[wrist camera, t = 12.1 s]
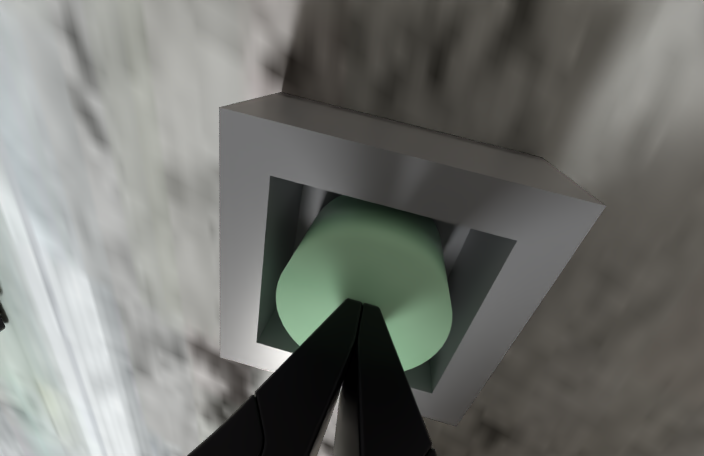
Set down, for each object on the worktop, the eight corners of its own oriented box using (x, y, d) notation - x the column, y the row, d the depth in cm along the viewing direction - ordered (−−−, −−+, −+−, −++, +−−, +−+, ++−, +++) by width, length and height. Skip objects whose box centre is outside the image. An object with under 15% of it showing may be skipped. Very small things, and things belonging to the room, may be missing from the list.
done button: (301, 284, 12) (269, 348, 9) (319, 172, 10) (284, 215, 7) (417, 316, 11) (419, 392, 9) (463, 210, 9) (483, 269, 7)
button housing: (263, 289, 14) (220, 356, 10) (280, 92, 10) (219, 107, 7) (446, 341, 13) (456, 426, 10) (542, 157, 9) (606, 206, 6)
